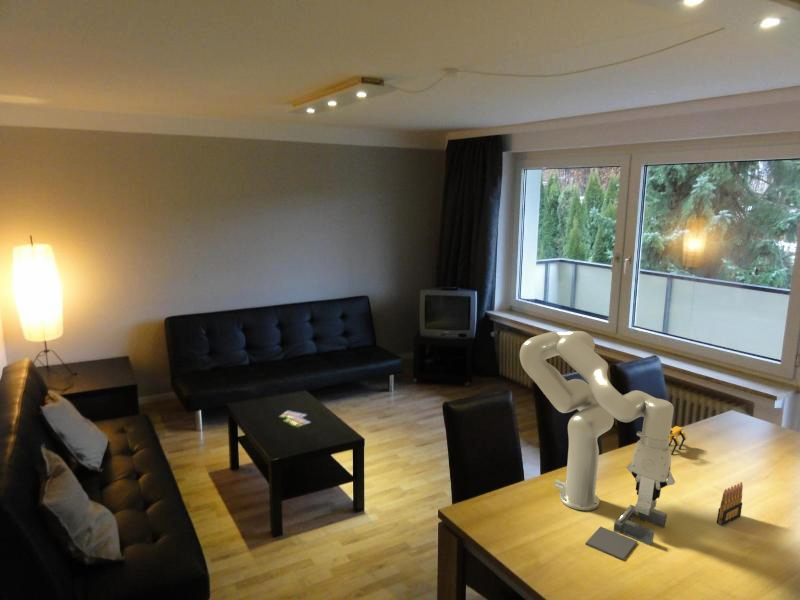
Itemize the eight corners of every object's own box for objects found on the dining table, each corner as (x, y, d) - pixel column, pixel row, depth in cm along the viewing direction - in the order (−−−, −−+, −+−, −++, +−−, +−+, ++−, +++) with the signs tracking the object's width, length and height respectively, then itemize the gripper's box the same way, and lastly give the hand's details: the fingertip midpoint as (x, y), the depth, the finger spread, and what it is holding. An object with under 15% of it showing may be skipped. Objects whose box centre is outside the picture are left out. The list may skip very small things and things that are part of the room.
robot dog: (652, 455, 225) (655, 423, 223) (671, 442, 237) (675, 412, 235) (666, 460, 221) (670, 428, 219) (685, 447, 233) (689, 416, 230)
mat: (585, 544, 168) (585, 542, 168) (600, 528, 177) (600, 526, 176) (623, 560, 161) (623, 558, 161) (636, 543, 170) (637, 541, 169)
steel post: (634, 510, 174) (639, 474, 171) (642, 501, 179) (647, 466, 176) (648, 515, 171) (653, 479, 169) (655, 506, 176) (661, 470, 174)
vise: (613, 530, 175) (614, 518, 175) (629, 511, 186) (631, 500, 185) (650, 545, 168) (652, 533, 168) (665, 525, 179) (667, 513, 178)
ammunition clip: (734, 513, 186) (739, 479, 184) (740, 516, 184) (745, 482, 182) (716, 523, 180) (721, 488, 178) (722, 526, 179) (727, 491, 177)
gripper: (622, 435, 173) (615, 490, 177) (681, 454, 162) (672, 512, 166) (631, 427, 178) (624, 481, 182) (688, 445, 168) (680, 501, 172)
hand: (647, 495), depth 174 cm, fingers closed on steel post, 4 cm apart
